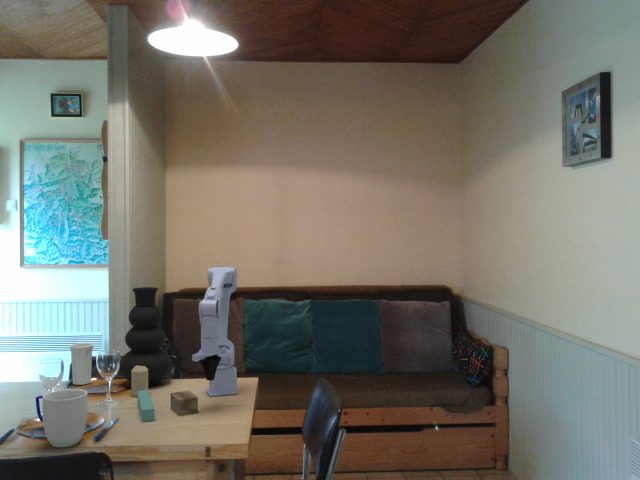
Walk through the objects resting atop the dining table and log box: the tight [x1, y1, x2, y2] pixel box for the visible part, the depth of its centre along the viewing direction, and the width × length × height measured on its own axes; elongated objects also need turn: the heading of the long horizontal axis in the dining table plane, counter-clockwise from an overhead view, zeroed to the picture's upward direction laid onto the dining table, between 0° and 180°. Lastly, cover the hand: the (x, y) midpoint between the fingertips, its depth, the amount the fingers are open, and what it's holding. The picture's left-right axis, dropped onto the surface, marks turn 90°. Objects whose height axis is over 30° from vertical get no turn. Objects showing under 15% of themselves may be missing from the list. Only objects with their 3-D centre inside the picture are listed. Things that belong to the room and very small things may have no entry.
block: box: [170, 390, 199, 417], centre depth 185 cm, size 6×9×5 cm, turn 30°
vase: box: [118, 286, 172, 387], centre depth 217 cm, size 18×18×35 cm
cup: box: [69, 342, 94, 386], centre depth 217 cm, size 8×8×14 cm
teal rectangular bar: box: [137, 389, 155, 423], centre depth 184 cm, size 4×22×4 cm, turn 21°
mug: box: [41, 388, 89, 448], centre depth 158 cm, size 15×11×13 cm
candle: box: [130, 365, 149, 398], centre depth 202 cm, size 6×6×10 cm
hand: (210, 379), depth 187 cm, fingers closed
